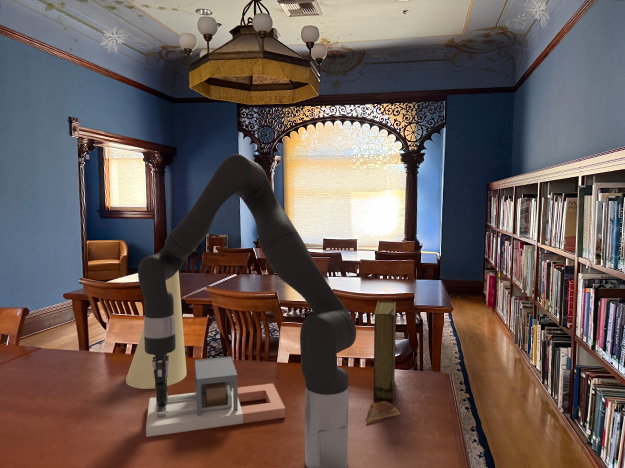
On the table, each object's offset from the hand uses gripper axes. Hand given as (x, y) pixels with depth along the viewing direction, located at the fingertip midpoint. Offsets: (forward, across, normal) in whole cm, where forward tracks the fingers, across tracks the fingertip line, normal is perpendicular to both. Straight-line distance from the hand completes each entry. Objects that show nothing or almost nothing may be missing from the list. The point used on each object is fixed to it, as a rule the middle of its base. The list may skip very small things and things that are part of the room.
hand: (161, 397), depth 116 cm
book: (+6, 0, -63) cm, 63 cm away
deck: (+6, 0, -14) cm, 15 cm away
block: (+3, 0, -14) cm, 14 cm away
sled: (+3, 0, -8) cm, 8 cm away
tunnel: (+3, +1, -14) cm, 14 cm away
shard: (+6, -14, -56) cm, 58 cm away
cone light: (+6, +32, +1) cm, 33 cm away
